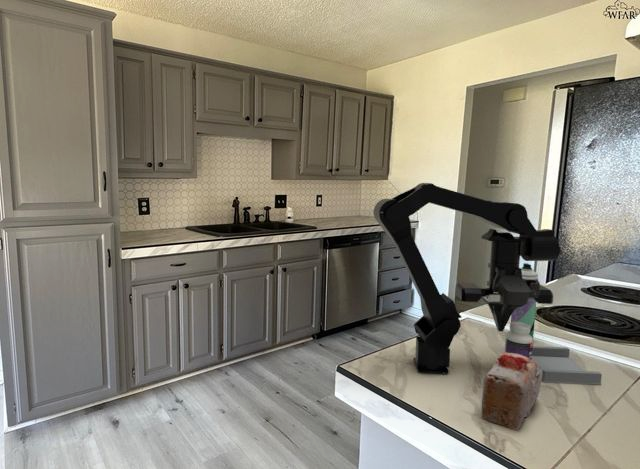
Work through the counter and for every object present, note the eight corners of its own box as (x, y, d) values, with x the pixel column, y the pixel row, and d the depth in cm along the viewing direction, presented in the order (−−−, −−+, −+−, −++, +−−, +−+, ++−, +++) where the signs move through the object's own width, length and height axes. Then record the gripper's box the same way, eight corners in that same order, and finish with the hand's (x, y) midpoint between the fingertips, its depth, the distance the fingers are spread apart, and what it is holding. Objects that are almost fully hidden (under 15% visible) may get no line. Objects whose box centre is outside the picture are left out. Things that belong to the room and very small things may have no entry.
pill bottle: (534, 373, 85) (537, 330, 83) (507, 371, 86) (510, 328, 85) (526, 362, 90) (529, 321, 89) (500, 360, 91) (504, 319, 90)
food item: (496, 386, 79) (499, 339, 78) (541, 400, 75) (545, 350, 73) (476, 418, 69) (480, 364, 67) (528, 436, 64) (533, 378, 63)
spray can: (504, 335, 106) (510, 262, 103) (521, 333, 108) (527, 261, 105) (520, 343, 101) (527, 266, 98) (537, 341, 102) (544, 265, 100)
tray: (544, 382, 81) (545, 371, 81) (517, 354, 94) (518, 345, 94) (600, 384, 80) (601, 374, 80) (566, 356, 93) (567, 347, 93)
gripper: (471, 268, 78) (467, 344, 80) (570, 270, 76) (563, 347, 79) (456, 257, 89) (453, 324, 91) (543, 259, 87) (537, 327, 90)
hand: (500, 330), depth 87 cm, fingers closed
